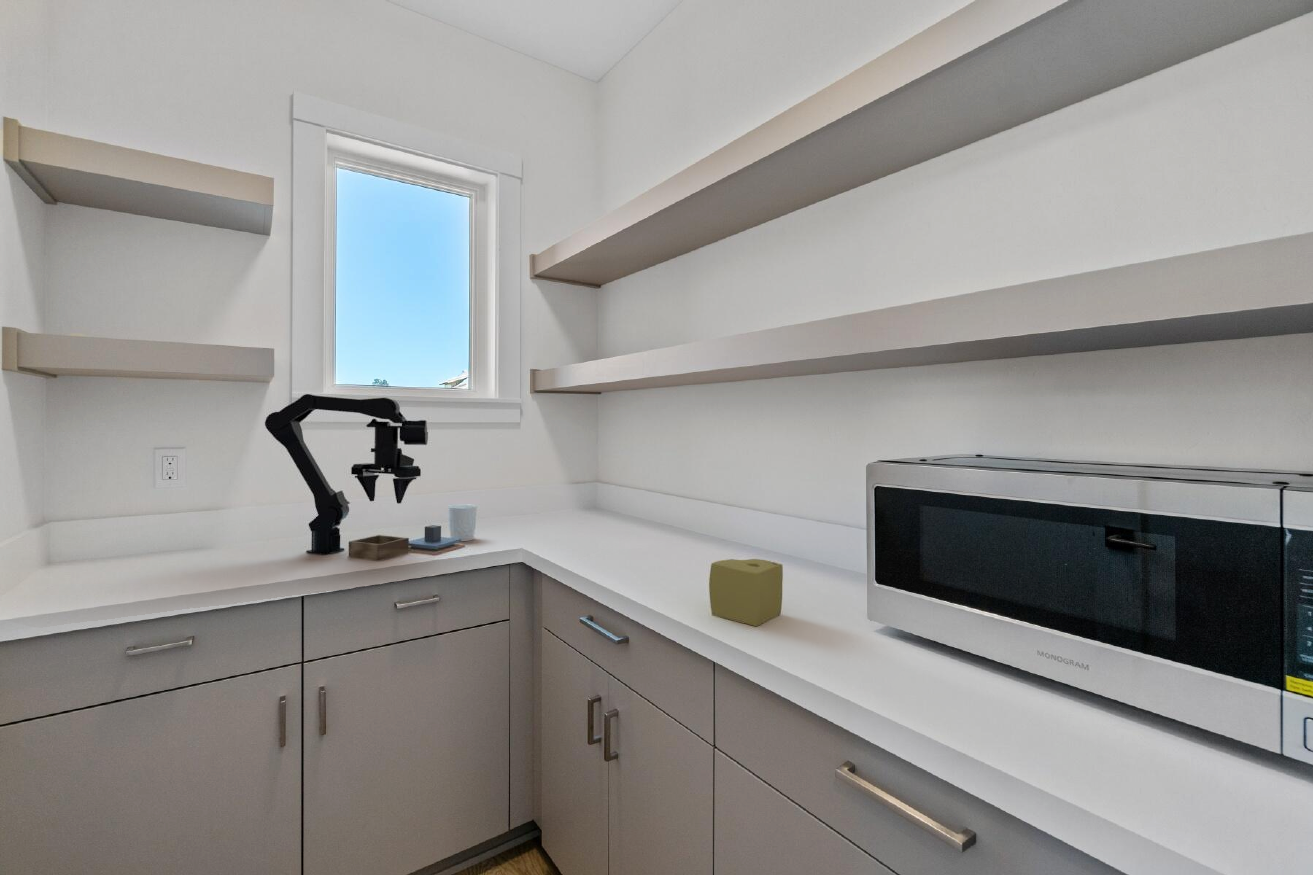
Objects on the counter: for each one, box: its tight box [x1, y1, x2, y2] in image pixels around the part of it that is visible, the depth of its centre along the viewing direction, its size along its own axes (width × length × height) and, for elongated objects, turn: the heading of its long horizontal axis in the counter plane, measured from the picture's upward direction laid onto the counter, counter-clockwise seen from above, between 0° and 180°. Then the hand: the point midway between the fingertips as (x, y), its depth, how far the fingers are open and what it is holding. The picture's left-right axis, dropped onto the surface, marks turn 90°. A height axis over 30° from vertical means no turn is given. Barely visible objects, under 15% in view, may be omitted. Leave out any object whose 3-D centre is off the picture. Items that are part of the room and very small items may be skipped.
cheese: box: [708, 558, 784, 627], centre depth 110 cm, size 10×11×10 cm
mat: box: [409, 543, 466, 556], centre depth 161 cm, size 12×12×1 cm
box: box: [348, 534, 410, 562], centre depth 152 cm, size 10×10×4 cm
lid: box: [409, 524, 462, 551], centre depth 161 cm, size 11×11×6 cm
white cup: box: [448, 503, 478, 542], centre depth 174 cm, size 8×8×10 cm
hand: (385, 502), depth 157 cm, fingers open, 9 cm apart
